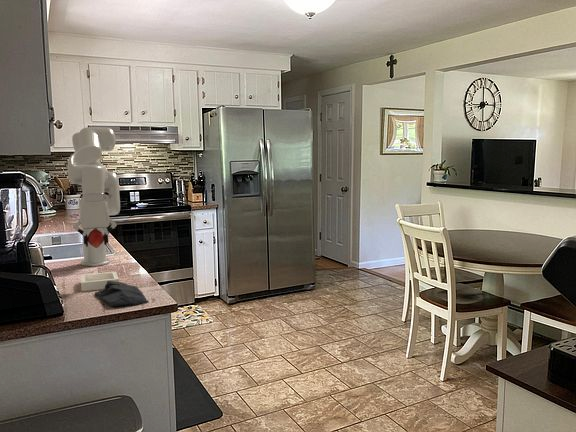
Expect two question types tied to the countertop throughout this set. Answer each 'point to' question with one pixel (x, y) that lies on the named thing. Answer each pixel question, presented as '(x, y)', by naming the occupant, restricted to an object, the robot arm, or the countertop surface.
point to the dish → (97, 280)
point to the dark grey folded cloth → (121, 294)
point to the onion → (95, 238)
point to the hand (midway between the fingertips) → (96, 244)
